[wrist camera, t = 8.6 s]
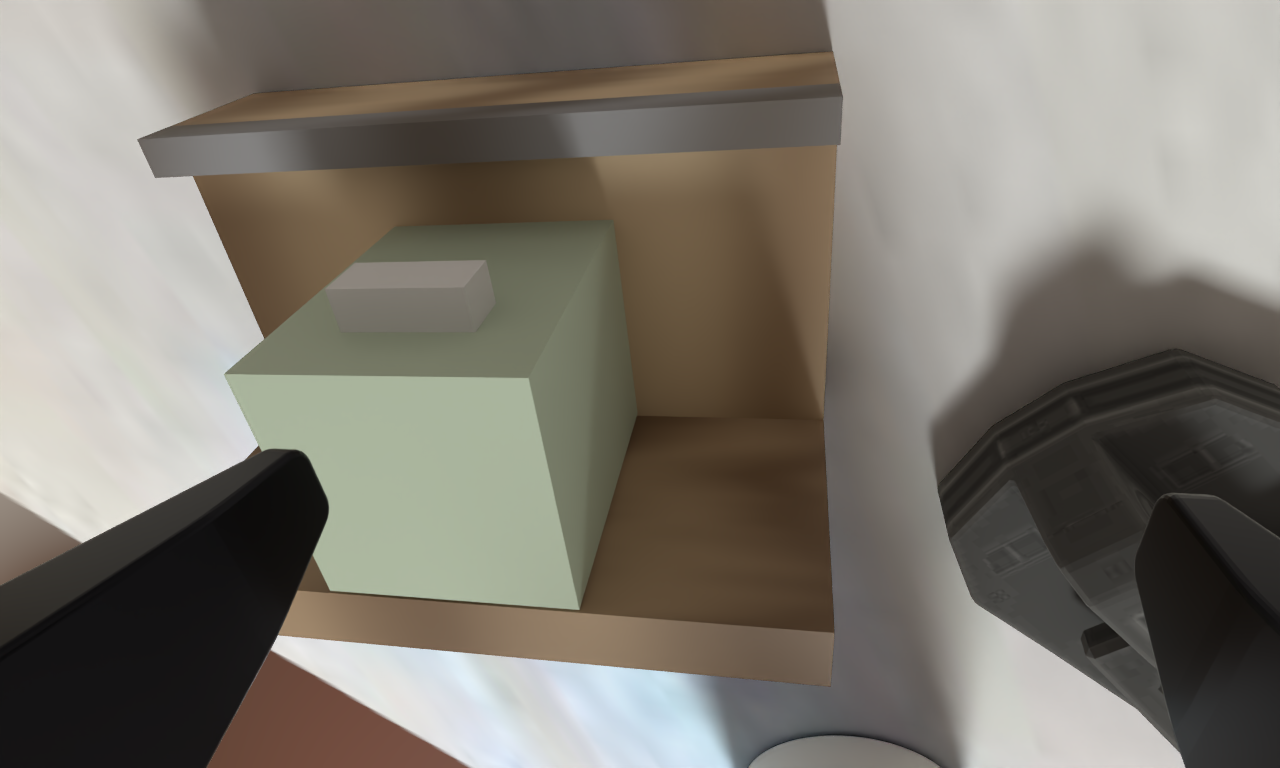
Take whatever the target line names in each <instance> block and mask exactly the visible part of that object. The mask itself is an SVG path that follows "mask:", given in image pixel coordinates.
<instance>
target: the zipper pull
mask: <svg viewBox="0 0 1280 768" xmlns="http://www.w3.org/2000/svg"><path fill="white" fill-rule="evenodd" d="M938 493H939V497H940V502H941V506H942V510H943V514H944V519H945V523H946V527H947V532H948V536H949V540H950V543H951V545H952V548H953V550H954V553H955V556H956V558H957V561H958V564H959V566H960V569H961V571H962V574H963V577H964V579H965V582H966V585H967V587H968V590H969V592H970V595H971V597H972V599H973V600H974V602H975V603H977V604H978V605H979V606H981V607H982V608H984V609H986V610H987V611H989V612H990V613H992V614H993V615H995V616H996V617H998V618H1000V619H1001V620H1003V621H1004V622H1006V623H1007V624H1009V625H1010V626H1012V627H1013V628H1015V629H1017V630H1018V631H1020V632H1021V633H1023V634H1024V635H1026V636H1027V637H1029V638H1031V639H1032V640H1034V641H1035V642H1037V643H1038V644H1040V645H1041V646H1043V647H1045V648H1046V649H1048V650H1049V651H1051V652H1052V653H1054V654H1055V655H1057V656H1058V657H1060V658H1061V659H1063V660H1064V661H1066V662H1067V663H1069V664H1070V665H1072V666H1073V667H1075V668H1076V669H1078V670H1079V671H1081V672H1082V673H1084V674H1085V675H1087V676H1088V677H1090V678H1091V679H1093V680H1094V681H1096V682H1097V683H1099V684H1100V685H1102V686H1103V687H1105V688H1106V689H1108V690H1109V691H1111V692H1112V693H1114V694H1115V695H1117V696H1118V697H1120V698H1121V699H1123V700H1124V701H1126V702H1127V703H1129V704H1130V705H1132V706H1133V707H1135V708H1136V709H1138V711H1139V712H1140V713H1141V714H1142V715H1143V716H1144V717H1145V718H1146V719H1147V720H1148V721H1149V722H1150V723H1151V724H1152V725H1153V726H1154V727H1155V728H1156V729H1157V730H1158V731H1159V732H1160V733H1161V734H1162V735H1163V736H1164V737H1165V738H1166V739H1167V740H1168V741H1169V742H1170V743H1171V744H1172V745H1173V746H1174V747H1175V748H1176V749H1177V750H1178V751H1179V752H1180V750H1179V747H1178V745H1177V742H1176V739H1175V736H1174V732H1173V729H1172V725H1171V721H1170V718H1169V714H1168V710H1167V707H1166V703H1165V698H1164V694H1163V690H1162V686H1161V682H1160V678H1159V674H1158V670H1157V666H1156V662H1155V658H1154V654H1153V649H1152V645H1151V641H1150V637H1149V633H1148V629H1147V625H1146V621H1145V617H1144V613H1143V609H1142V605H1141V601H1140V596H1139V592H1138V588H1137V584H1136V580H1135V572H1134V561H1135V555H1136V552H1137V549H1138V546H1139V544H1140V541H1141V539H1142V536H1143V533H1144V531H1145V528H1146V526H1147V523H1148V520H1149V518H1150V515H1151V513H1152V510H1153V507H1154V505H1155V503H1156V502H1157V500H1158V499H1159V498H1160V497H1161V496H1162V495H1164V494H1167V493H1188V494H1207V495H1213V496H1216V497H1219V498H1221V499H1222V500H1224V501H1226V502H1227V503H1229V504H1230V505H1232V506H1233V507H1235V508H1236V509H1238V510H1239V511H1241V512H1242V513H1244V514H1245V515H1247V516H1248V517H1250V518H1251V519H1253V520H1254V521H1255V522H1257V523H1258V524H1260V525H1261V526H1263V527H1264V528H1266V529H1267V530H1269V531H1270V532H1272V533H1273V534H1275V535H1276V536H1278V537H1279V538H1280V389H1279V388H1278V387H1277V386H1276V385H1274V384H1271V383H1268V382H1265V381H1263V380H1260V379H1257V378H1255V377H1252V376H1249V375H1247V374H1244V373H1241V372H1239V371H1236V370H1233V369H1231V368H1228V367H1225V366H1223V365H1220V364H1217V363H1215V362H1212V361H1209V360H1207V359H1204V358H1202V357H1199V356H1196V355H1194V354H1191V353H1188V352H1186V351H1183V350H1178V349H1173V350H1168V351H1165V352H1162V353H1159V354H1156V355H1152V356H1149V357H1146V358H1143V359H1139V360H1136V361H1133V362H1130V363H1127V364H1123V365H1120V366H1117V367H1114V368H1111V369H1107V370H1104V371H1101V372H1098V373H1095V374H1091V375H1088V376H1085V377H1082V378H1079V379H1075V380H1072V381H1069V382H1066V383H1063V384H1062V385H1060V386H1058V387H1057V388H1055V389H1053V390H1052V391H1050V392H1048V393H1047V394H1045V395H1043V396H1042V397H1040V398H1038V399H1037V400H1035V401H1033V402H1032V403H1030V404H1028V405H1027V406H1025V407H1023V408H1022V409H1020V410H1018V411H1017V412H1015V413H1013V414H1012V415H1010V416H1008V417H1007V418H1005V419H1004V420H1002V421H1000V422H999V423H997V424H995V425H994V426H992V427H991V428H990V429H989V430H988V432H987V433H986V434H985V435H984V436H983V437H982V438H981V439H980V440H979V441H978V442H977V444H976V445H975V446H974V447H973V448H972V449H971V450H970V451H969V452H968V453H967V455H966V456H965V457H964V458H963V459H962V460H961V461H960V462H959V463H958V464H957V465H956V467H955V468H954V469H953V470H952V471H951V472H950V473H949V474H948V475H947V476H946V478H945V479H944V480H943V481H942V482H941V483H940V485H939V486H938Z"/></svg>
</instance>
